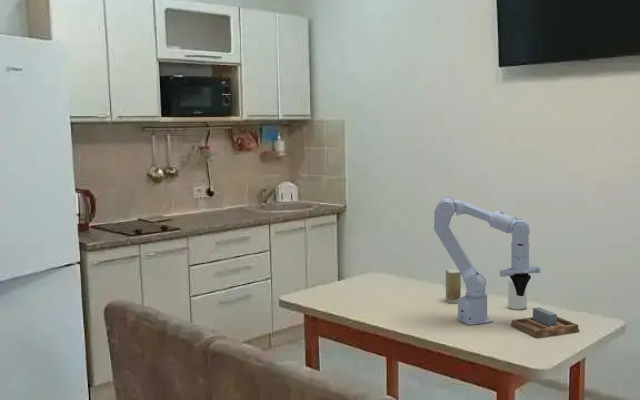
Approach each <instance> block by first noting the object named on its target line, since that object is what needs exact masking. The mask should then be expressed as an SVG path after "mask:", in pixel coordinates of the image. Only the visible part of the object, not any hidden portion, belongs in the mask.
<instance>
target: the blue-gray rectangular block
mask: <svg viewBox="0 0 640 400" xmlns="http://www.w3.org/2000/svg"><path fill="white" fill-rule="evenodd" d="M532 317H533V321H535V322H538V323H540V324H542V325H545V326H547V327H549V328H550V327H551V326H557V317H558V316H557V313H555V312H552V311H550V310H547V309H545V308H543V307H539V306H538V307H533V308H532Z"/></svg>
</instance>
